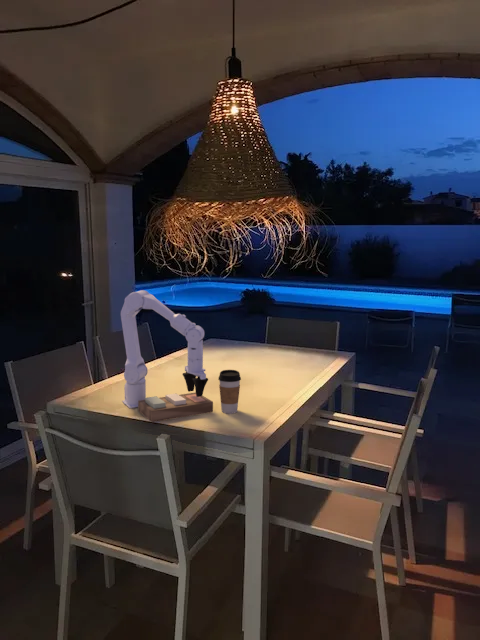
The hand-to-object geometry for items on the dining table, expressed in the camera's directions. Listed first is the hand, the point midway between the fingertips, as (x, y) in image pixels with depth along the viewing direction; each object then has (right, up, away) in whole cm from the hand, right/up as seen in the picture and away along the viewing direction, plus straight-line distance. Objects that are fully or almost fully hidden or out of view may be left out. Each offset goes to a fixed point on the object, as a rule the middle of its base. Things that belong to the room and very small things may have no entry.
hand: (194, 393), depth 202 cm
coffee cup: (+13, -7, -2) cm, 15 cm away
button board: (-7, -6, -3) cm, 10 cm away
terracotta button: (0, -6, +1) cm, 6 cm away
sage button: (-14, -5, -7) cm, 16 cm away
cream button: (-7, -5, -3) cm, 9 cm away
